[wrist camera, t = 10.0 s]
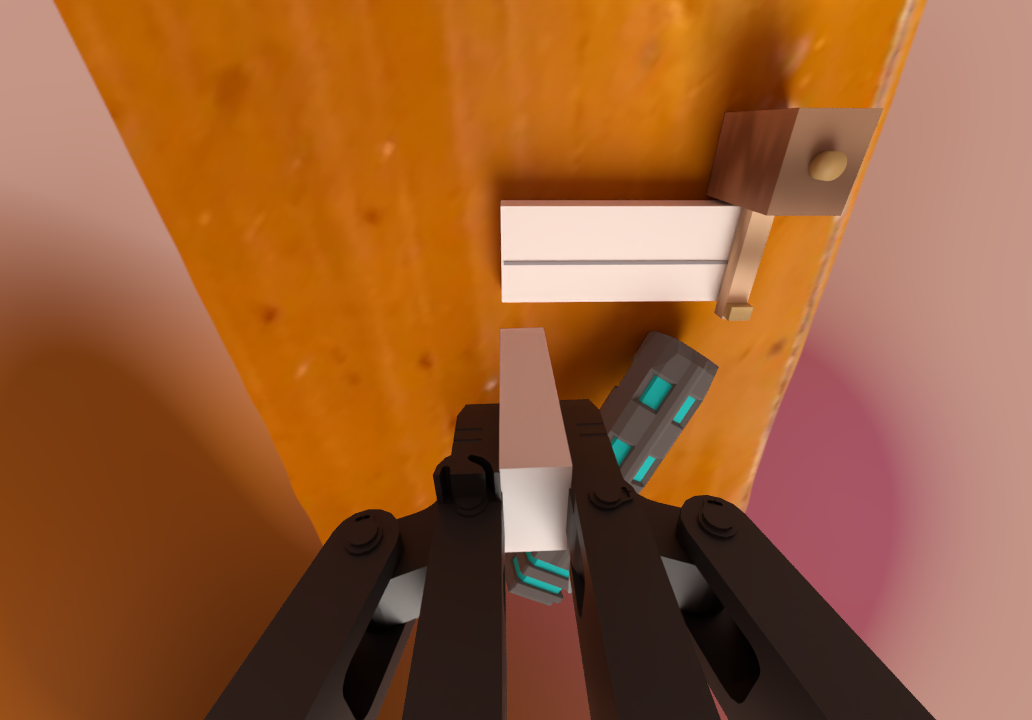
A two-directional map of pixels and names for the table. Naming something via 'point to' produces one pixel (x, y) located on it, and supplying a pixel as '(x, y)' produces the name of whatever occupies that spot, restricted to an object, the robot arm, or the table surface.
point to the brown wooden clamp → (782, 179)
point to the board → (615, 249)
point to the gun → (628, 442)
